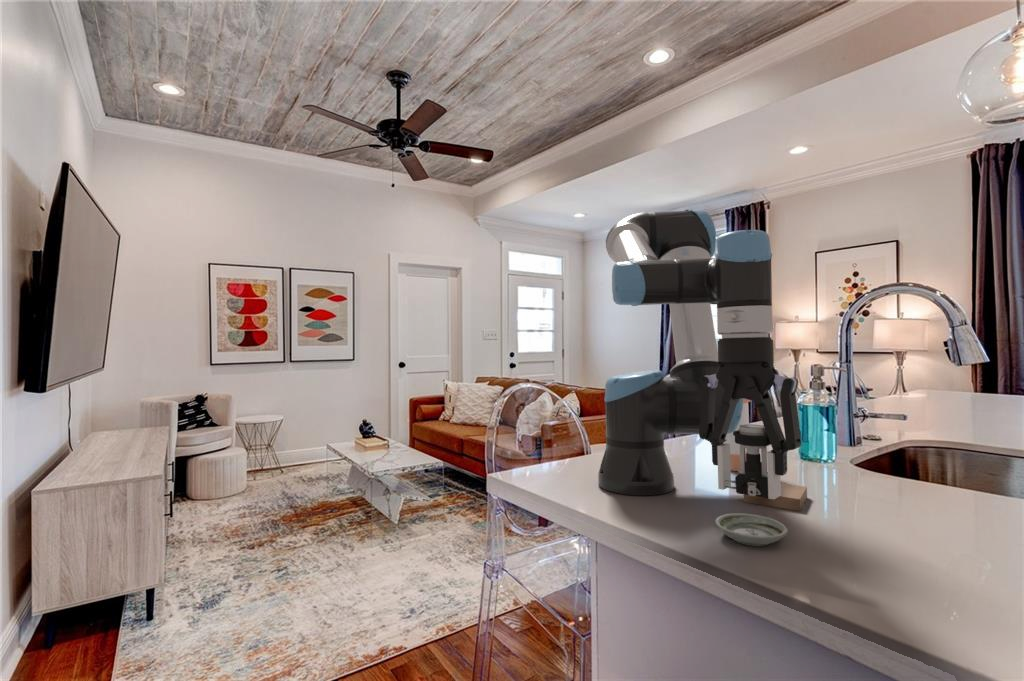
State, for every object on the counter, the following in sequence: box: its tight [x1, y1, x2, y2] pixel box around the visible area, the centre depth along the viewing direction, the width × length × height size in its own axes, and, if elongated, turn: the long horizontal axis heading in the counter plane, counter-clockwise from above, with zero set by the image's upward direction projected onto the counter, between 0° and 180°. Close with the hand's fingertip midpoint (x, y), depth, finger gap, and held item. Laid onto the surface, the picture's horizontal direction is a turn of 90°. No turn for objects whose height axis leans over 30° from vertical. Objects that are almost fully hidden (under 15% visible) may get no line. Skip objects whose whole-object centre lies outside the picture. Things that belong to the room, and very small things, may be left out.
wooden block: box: [743, 483, 808, 512], centre depth 93 cm, size 9×9×2 cm
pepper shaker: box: [723, 398, 752, 472], centre depth 117 cm, size 7×7×19 cm
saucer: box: [714, 512, 788, 547], centre depth 75 cm, size 10×10×2 cm
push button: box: [725, 423, 771, 498], centre depth 75 cm, size 7×5×10 cm
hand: (748, 491), depth 75 cm, fingers closed on push button, 6 cm apart
